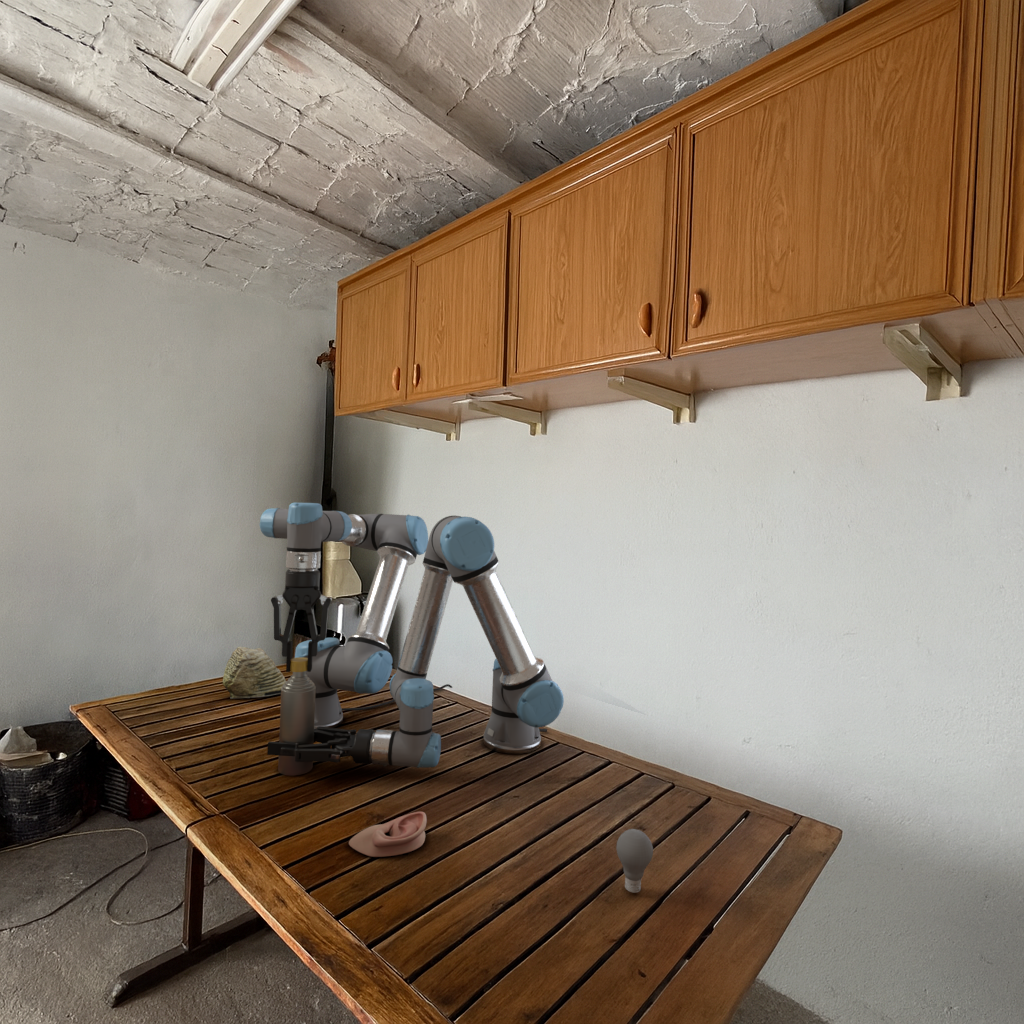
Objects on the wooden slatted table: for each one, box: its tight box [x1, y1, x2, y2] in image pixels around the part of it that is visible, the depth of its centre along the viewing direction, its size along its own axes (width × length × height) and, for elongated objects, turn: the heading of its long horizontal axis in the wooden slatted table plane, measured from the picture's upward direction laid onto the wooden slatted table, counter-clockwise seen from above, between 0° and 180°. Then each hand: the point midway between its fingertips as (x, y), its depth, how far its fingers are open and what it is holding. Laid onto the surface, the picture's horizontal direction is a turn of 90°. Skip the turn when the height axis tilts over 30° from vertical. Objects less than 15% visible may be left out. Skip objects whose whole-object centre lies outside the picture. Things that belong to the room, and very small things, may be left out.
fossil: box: [222, 646, 287, 699], centre depth 198 cm, size 9×18×15 cm, turn 132°
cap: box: [290, 657, 308, 673], centre depth 146 cm, size 4×4×2 cm
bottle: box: [277, 671, 316, 776], centre depth 147 cm, size 8×8×25 cm
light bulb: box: [615, 828, 654, 894], centre depth 106 cm, size 6×6×10 cm
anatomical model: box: [348, 811, 428, 858], centre depth 117 cm, size 13×4×12 cm
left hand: (299, 670), depth 146 cm, fingers closed on cap, 4 cm apart
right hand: (275, 741), depth 147 cm, fingers closed on bottle, 8 cm apart
